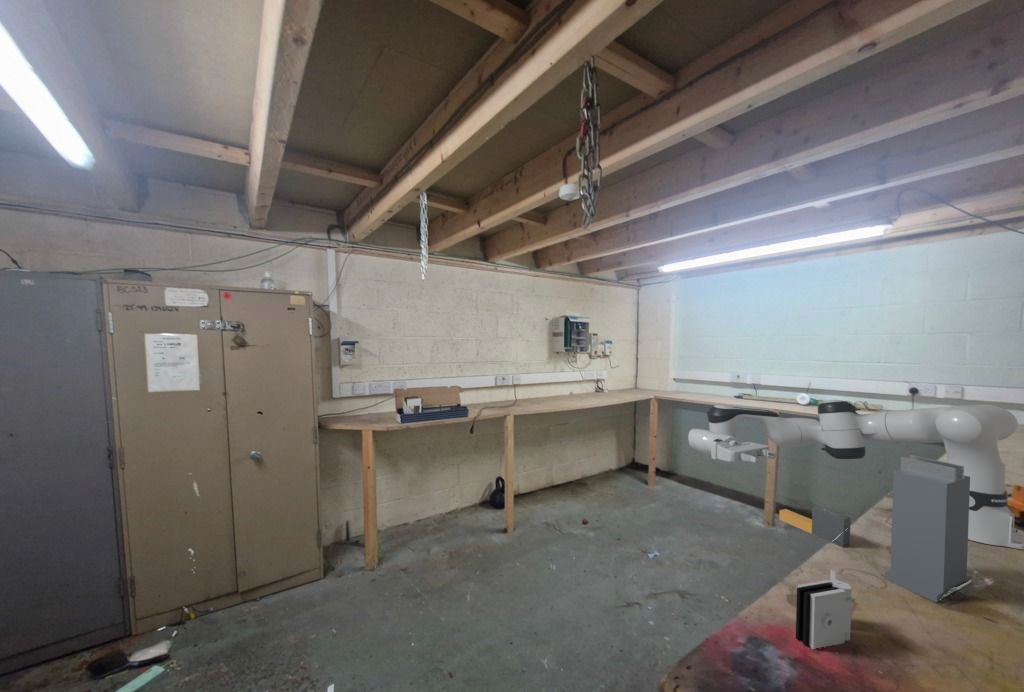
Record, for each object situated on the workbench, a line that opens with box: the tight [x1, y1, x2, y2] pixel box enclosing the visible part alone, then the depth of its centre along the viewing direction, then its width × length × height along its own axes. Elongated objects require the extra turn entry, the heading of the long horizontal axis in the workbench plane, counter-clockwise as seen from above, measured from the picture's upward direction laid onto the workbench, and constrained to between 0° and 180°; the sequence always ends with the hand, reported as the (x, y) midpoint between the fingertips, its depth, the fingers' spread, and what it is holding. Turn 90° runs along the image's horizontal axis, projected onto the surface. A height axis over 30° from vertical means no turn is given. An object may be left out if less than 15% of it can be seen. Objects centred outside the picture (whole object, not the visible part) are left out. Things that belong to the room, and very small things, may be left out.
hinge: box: [795, 569, 852, 650], centre depth 74 cm, size 14×5×10 cm, turn 116°
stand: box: [883, 454, 973, 603], centre depth 91 cm, size 18×9×29 cm, turn 114°
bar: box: [778, 505, 851, 548], centre depth 115 cm, size 3×18×8 cm, turn 21°
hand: (766, 458), depth 127 cm, fingers open, 8 cm apart
